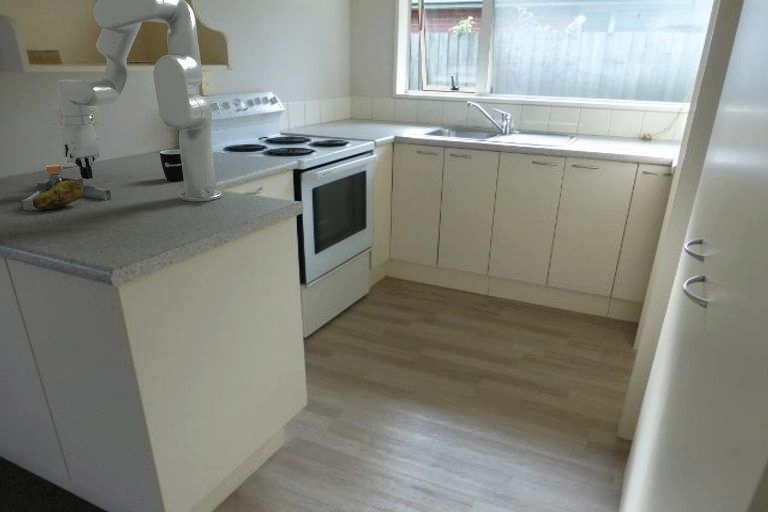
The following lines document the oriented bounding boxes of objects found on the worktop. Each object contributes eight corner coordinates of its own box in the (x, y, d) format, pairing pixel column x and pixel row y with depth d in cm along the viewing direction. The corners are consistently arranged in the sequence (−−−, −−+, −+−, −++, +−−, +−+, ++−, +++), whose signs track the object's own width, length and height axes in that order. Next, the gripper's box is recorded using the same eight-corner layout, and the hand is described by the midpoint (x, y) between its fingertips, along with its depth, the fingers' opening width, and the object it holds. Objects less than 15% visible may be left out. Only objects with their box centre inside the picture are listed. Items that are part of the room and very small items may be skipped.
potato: (39, 206, 155) (33, 179, 152) (88, 202, 159) (83, 176, 156) (32, 213, 148) (26, 185, 145) (83, 210, 152) (78, 182, 149)
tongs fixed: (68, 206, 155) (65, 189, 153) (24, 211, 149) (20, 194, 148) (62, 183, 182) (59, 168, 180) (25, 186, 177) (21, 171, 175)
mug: (161, 182, 185) (157, 154, 181) (166, 177, 193) (162, 149, 189) (196, 181, 187) (193, 153, 183) (199, 176, 195) (196, 149, 192)
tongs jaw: (58, 191, 171) (55, 176, 169) (65, 190, 173) (62, 175, 171) (105, 200, 162) (102, 184, 160) (112, 198, 164) (109, 183, 162)
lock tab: (61, 173, 174) (60, 166, 173) (47, 174, 172) (46, 167, 171) (61, 171, 176) (59, 164, 176) (47, 172, 174) (45, 165, 174)
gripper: (90, 118, 172) (99, 173, 179) (46, 122, 160) (58, 181, 166) (106, 119, 170) (115, 175, 176) (62, 124, 157) (74, 184, 163)
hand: (87, 178), depth 171 cm, fingers closed
